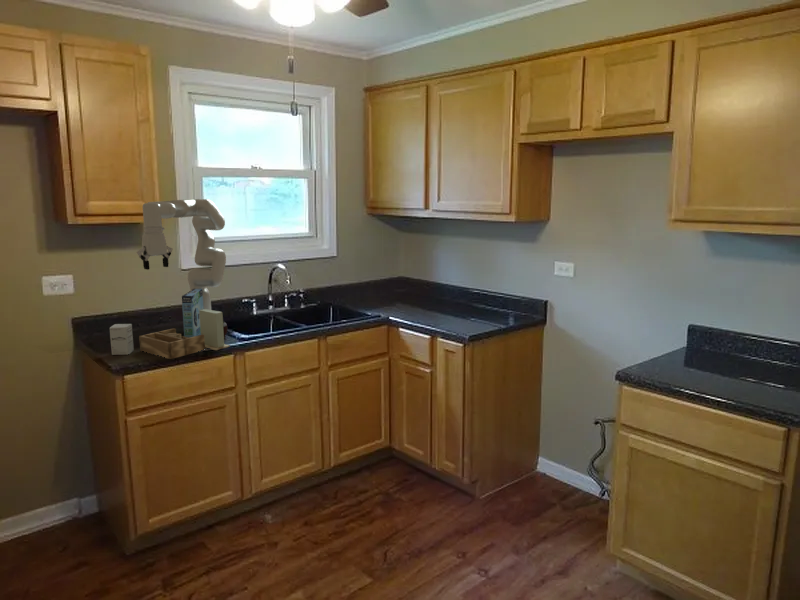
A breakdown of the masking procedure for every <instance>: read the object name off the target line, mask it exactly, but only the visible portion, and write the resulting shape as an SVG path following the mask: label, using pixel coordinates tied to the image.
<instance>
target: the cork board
mask: <svg viewBox="0 0 800 600" xmlns="http://www.w3.org/2000/svg"><path fill="white" fill-rule="evenodd" d="M229 347H231V344H225V343H224V346H222V347H219V348H217V347H213V346H209V345H205V349H207V348H210V349H209V350H213V351H218V350H223V349H226V348H229Z"/></svg>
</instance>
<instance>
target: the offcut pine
mask: <svg viewBox="0 0 800 600" xmlns="http://www.w3.org/2000/svg"><path fill="white" fill-rule="evenodd" d="M166 335H170V336H174V337H178V338H182V337H181V336H182V333H177V332H176V333H169V334H166Z"/></svg>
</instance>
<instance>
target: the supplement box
mask: <svg viewBox="0 0 800 600" xmlns="http://www.w3.org/2000/svg"><path fill="white" fill-rule="evenodd" d="M133 335H134V334H133V324H132V323H115V324H113V325H111V326H110V327H109V339H110V348H111V355H112V356H113V355H118V356H119V355H120V356H121V355H122V356H124V355H126V356H127V355H128V354H129V355H130V354H131V353H132V352H134V338H133V337H134V336H133ZM129 355H128V356H129Z"/></svg>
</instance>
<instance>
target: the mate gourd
mask: <svg viewBox="0 0 800 600" xmlns="http://www.w3.org/2000/svg"><path fill="white" fill-rule="evenodd" d="M228 329H229V328H228V325H227V323H226V322H225V321H223V331H224V339H225V340H227V339H226V337H227V336H226V335H227V333H228Z"/></svg>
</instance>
